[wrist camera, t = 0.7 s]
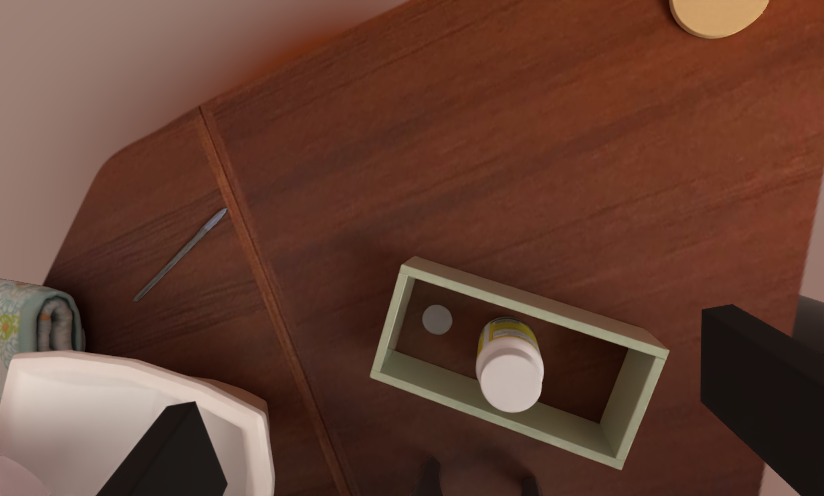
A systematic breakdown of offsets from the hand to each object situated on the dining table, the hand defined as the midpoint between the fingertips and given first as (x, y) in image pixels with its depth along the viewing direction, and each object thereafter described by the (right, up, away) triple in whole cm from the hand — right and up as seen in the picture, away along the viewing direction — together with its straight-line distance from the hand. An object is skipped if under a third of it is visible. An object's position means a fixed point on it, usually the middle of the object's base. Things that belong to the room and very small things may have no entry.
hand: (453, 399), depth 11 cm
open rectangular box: (+7, -4, +25) cm, 27 cm away
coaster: (+21, +22, +20) cm, 36 cm away
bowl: (-21, -15, +32) cm, 41 cm away
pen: (-29, -1, +32) cm, 43 cm away
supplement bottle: (+7, -4, +25) cm, 27 cm away
